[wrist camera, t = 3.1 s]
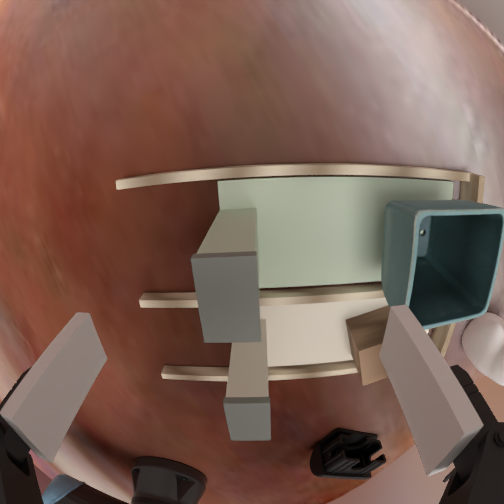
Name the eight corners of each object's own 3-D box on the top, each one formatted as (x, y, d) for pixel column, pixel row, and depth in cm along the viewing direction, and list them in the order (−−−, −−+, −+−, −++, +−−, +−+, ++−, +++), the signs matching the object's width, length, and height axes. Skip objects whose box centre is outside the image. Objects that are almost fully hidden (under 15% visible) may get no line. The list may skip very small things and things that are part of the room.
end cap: (307, 448, 38) (310, 482, 32) (334, 426, 36) (342, 463, 29) (352, 454, 40) (358, 485, 33) (379, 434, 37) (389, 466, 31)
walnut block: (351, 354, 29) (362, 385, 25) (345, 319, 28) (358, 351, 23) (392, 339, 29) (408, 369, 24) (390, 304, 27) (409, 332, 22)
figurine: (504, 305, 28) (553, 354, 17) (480, 350, 31) (519, 403, 20) (476, 301, 28) (531, 358, 16) (450, 350, 30) (491, 412, 19)
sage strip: (226, 286, 27) (210, 370, 17) (217, 180, 24) (184, 212, 13) (438, 273, 26) (498, 331, 16) (450, 181, 23) (531, 210, 12)
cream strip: (239, 364, 31) (232, 448, 20) (233, 304, 28) (220, 390, 17) (421, 345, 30) (460, 410, 20) (437, 288, 27) (493, 349, 17)
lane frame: (165, 369, 32) (159, 387, 29) (123, 178, 24) (107, 183, 21) (430, 350, 30) (440, 365, 27) (466, 171, 22) (484, 176, 19)
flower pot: (364, 185, 23) (416, 210, 15) (445, 184, 22) (509, 208, 14) (361, 279, 26) (398, 336, 18) (437, 269, 26) (486, 315, 17)
